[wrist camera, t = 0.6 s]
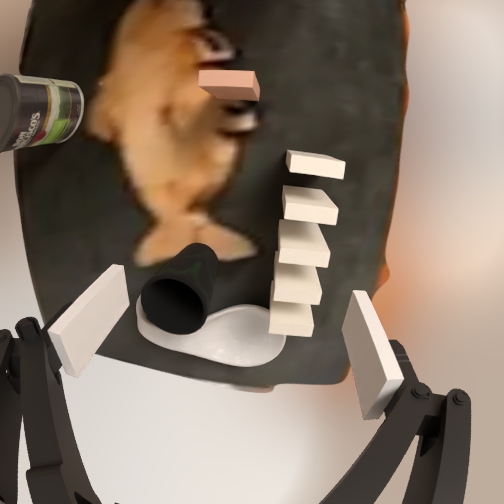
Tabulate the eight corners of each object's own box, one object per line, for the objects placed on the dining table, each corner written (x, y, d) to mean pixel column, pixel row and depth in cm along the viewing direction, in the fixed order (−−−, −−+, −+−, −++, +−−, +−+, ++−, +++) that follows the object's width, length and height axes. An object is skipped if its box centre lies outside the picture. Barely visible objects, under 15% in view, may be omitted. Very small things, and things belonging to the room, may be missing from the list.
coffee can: (95, 110, 33) (27, 109, 20) (56, 155, 36) (-9, 172, 23) (68, 67, 30) (4, 58, 17) (33, 113, 33) (-29, 119, 20)
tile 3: (279, 219, 37) (280, 247, 28) (317, 223, 37) (330, 253, 28) (277, 230, 38) (278, 262, 29) (315, 234, 38) (327, 267, 29)
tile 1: (287, 149, 34) (291, 154, 25) (326, 155, 34) (345, 162, 24) (285, 162, 34) (289, 171, 25) (325, 167, 34) (343, 179, 25)
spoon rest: (292, 298, 42) (294, 327, 35) (278, 355, 47) (278, 386, 40) (139, 274, 43) (119, 298, 36) (145, 332, 47) (129, 359, 41)
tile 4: (275, 251, 39) (275, 287, 30) (311, 254, 39) (322, 292, 30) (274, 261, 40) (273, 300, 30) (309, 265, 40) (319, 304, 30)
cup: (182, 287, 43) (154, 337, 31) (166, 241, 40) (130, 280, 29) (231, 281, 41) (216, 332, 30) (218, 231, 39) (195, 270, 28)
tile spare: (219, 87, 31) (199, 70, 22) (259, 89, 31) (254, 71, 22) (218, 99, 32) (197, 86, 23) (258, 101, 32) (252, 87, 22)
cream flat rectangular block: (271, 280, 41) (270, 322, 32) (306, 283, 41) (313, 326, 31) (270, 290, 41) (268, 333, 32) (304, 293, 41) (311, 336, 32)
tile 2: (283, 185, 36) (286, 202, 26) (322, 189, 35) (338, 209, 26) (281, 197, 36) (284, 218, 27) (320, 202, 36) (335, 225, 27)
